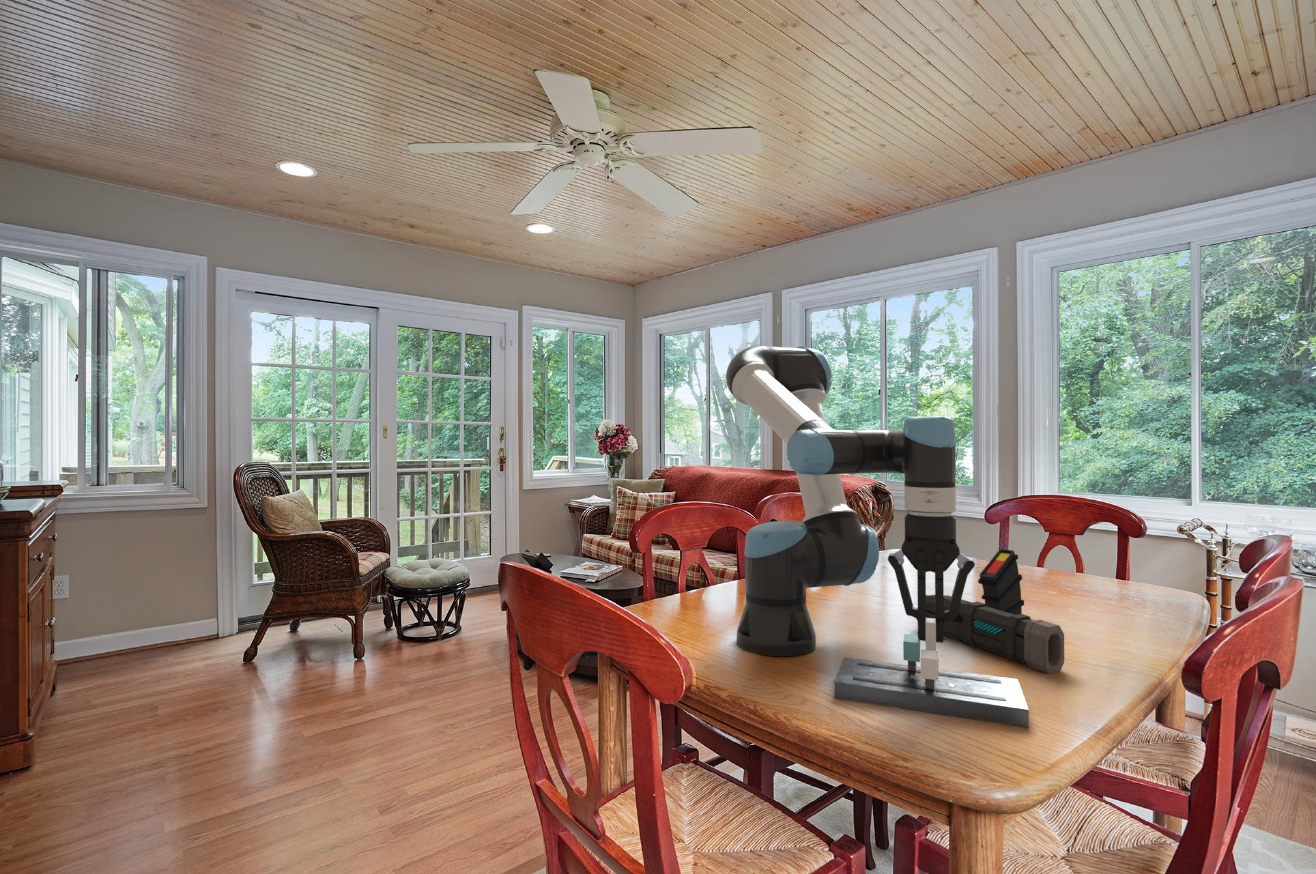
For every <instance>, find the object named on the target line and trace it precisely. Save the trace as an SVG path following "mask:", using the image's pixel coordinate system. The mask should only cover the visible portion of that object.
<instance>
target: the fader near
mask: <svg viewBox="0 0 1316 874" xmlns="http://www.w3.org/2000/svg"><path fill="white" fill-rule="evenodd" d="M939 666H940V664H939V651H938V650H936V651H933V650H926V649H922V648H920V667H921V678H925V688H927V689H934V680H939V669H940V667H939Z"/></svg>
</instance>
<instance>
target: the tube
mask: <svg viewBox="0 0 1316 874" xmlns="http://www.w3.org/2000/svg"><path fill="white" fill-rule="evenodd" d="M951 597H952V595H946V594H945V595H944V611H946V610H948V608H949V604H950V600H951ZM926 618H932V619H935V594H930V595H929V594H928V595H927V594H926ZM944 636H946V637H950V638H953V639H956V640H958V641H962V642H964V643H965V644H966V645H967V646H969V647H973V648H974V649H975V648H981V649H984V650H986V651H989V652H991V653H994V654H998V655H1000V656H1002V657H1005V658H1008V659H1009V661H1010V662H1012V663H1013V662H1014V663H1016V664H1025V665H1028V666H1027V667H1028V668H1031V669H1034V670H1036V671H1039V672H1043V673H1044V674H1048V675H1051V674H1056V673H1060V672H1061V670H1062V668H1063V666H1064V663H1065V633H1064V631H1063V629H1062V627H1061V626H1060V624H1056V623H1053V622H1049V621H1046V620H1042V619H1032V618H1031V616H1030V615H1027V614H1023V613H1022V614H1018V615H1014V614H1011V613H1007V612H1004V611H1000V610H997V609H993V608H990V607H988V606H987V604H985V602H981V601H969V600H965V599H962V598H961V602H960V606H959V610H958V613H957V617H956V619H955V620H948V621H946V622H945V623H944Z"/></svg>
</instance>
